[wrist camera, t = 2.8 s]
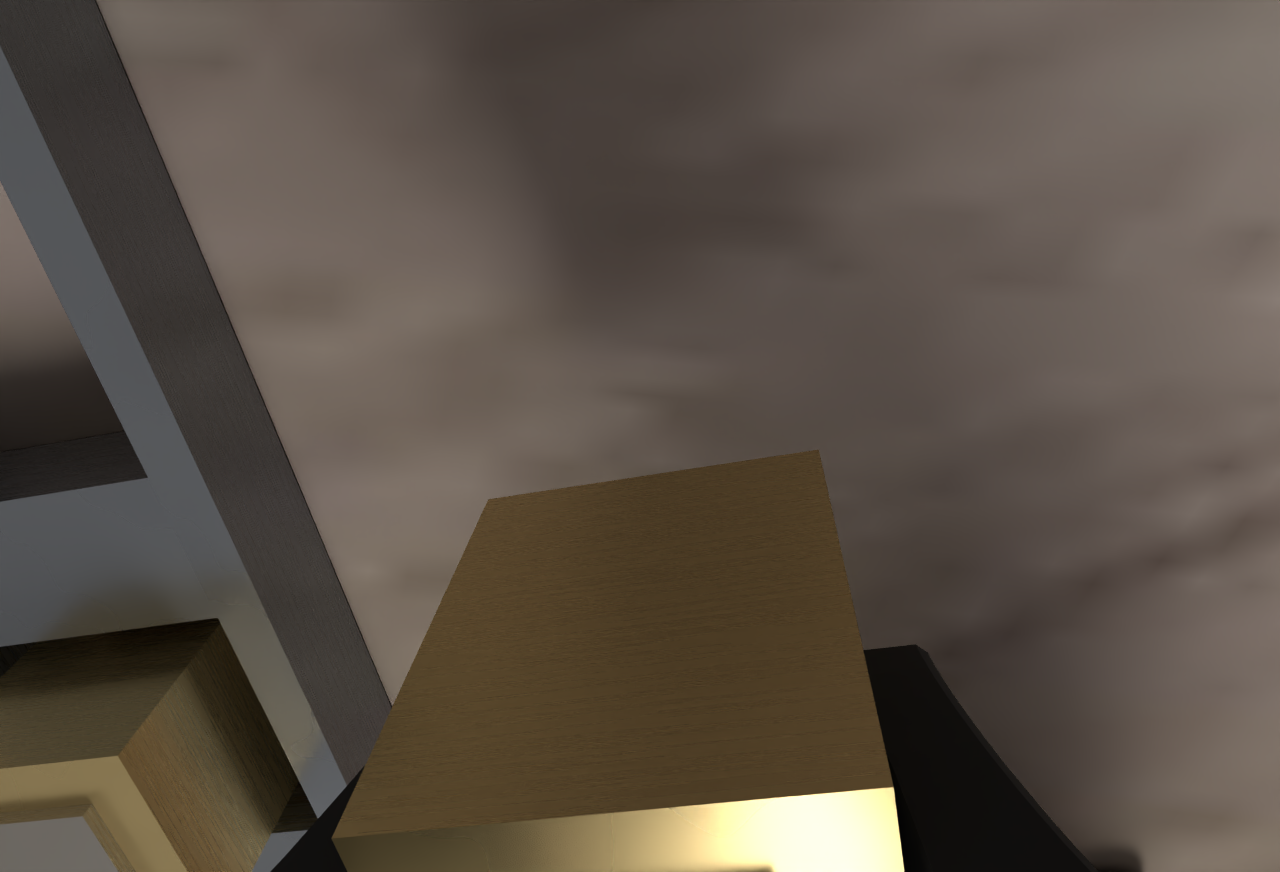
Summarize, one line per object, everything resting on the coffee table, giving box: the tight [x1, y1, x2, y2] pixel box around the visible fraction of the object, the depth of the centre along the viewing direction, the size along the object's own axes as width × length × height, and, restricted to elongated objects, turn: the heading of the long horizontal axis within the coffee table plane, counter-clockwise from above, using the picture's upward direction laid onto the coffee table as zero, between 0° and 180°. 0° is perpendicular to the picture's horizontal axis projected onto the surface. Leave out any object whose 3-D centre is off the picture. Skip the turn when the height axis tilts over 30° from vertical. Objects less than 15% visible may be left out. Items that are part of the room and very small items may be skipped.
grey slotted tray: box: [0, 0, 392, 872], centre depth 17 cm, size 17×7×2 cm, turn 12°
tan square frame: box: [0, 618, 299, 872], centre depth 17 cm, size 4×4×5 cm
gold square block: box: [331, 450, 904, 872], centre depth 9 cm, size 4×4×5 cm
